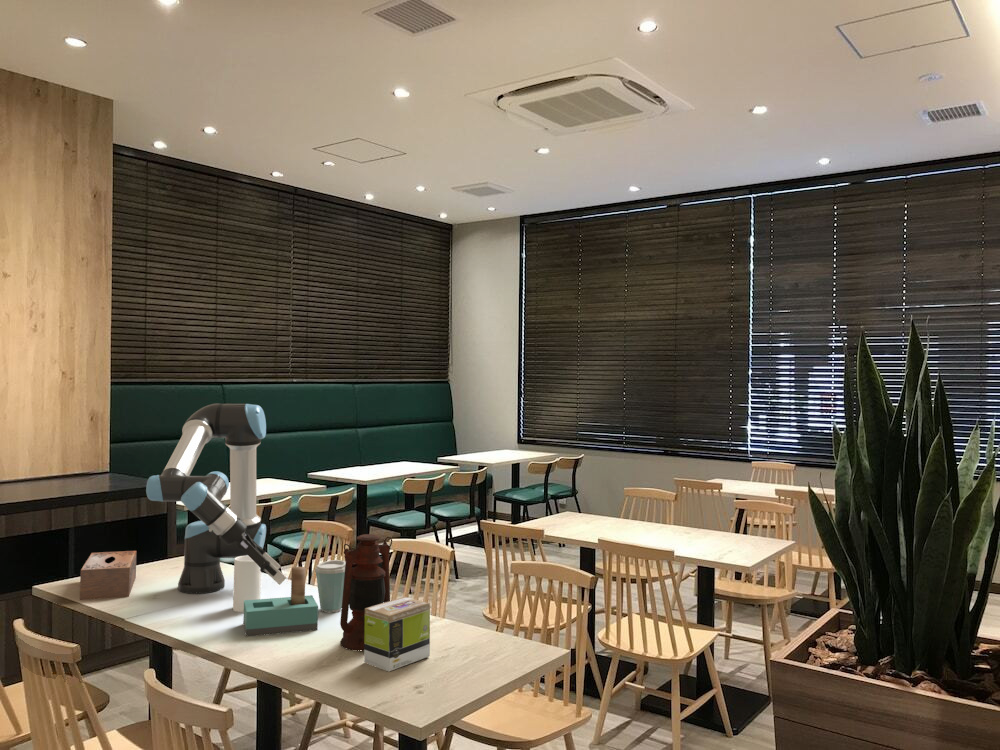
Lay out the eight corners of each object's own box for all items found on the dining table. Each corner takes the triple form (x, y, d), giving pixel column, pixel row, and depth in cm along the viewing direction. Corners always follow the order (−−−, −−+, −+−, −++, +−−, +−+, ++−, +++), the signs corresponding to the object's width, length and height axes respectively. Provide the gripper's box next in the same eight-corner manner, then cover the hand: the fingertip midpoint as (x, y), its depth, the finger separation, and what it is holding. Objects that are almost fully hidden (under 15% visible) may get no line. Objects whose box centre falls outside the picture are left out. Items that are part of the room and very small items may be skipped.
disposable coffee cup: (328, 616, 243) (330, 568, 243) (306, 610, 249) (307, 562, 249) (354, 609, 251) (355, 562, 251) (332, 603, 258) (333, 557, 258)
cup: (264, 605, 253) (265, 555, 253) (253, 612, 245) (255, 561, 245) (239, 604, 254) (241, 554, 254) (228, 611, 246) (229, 560, 246)
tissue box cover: (91, 581, 278) (91, 552, 278) (135, 578, 283) (136, 550, 283) (79, 600, 254) (80, 570, 254) (128, 597, 259) (129, 567, 259)
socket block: (243, 623, 234) (243, 600, 234) (311, 618, 241) (312, 595, 241) (246, 636, 223) (246, 611, 223) (317, 630, 230) (318, 606, 230)
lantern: (355, 656, 209) (358, 544, 209) (325, 643, 219) (328, 536, 219) (405, 641, 222) (408, 535, 222) (374, 630, 231) (377, 528, 232)
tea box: (404, 648, 216) (405, 595, 216) (430, 657, 210) (431, 602, 210) (362, 663, 205) (363, 606, 205) (388, 673, 198) (390, 614, 198)
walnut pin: (289, 617, 235) (291, 567, 235) (303, 616, 236) (304, 566, 237) (291, 621, 231) (292, 570, 231) (305, 620, 233) (306, 569, 233)
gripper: (216, 527, 236) (266, 574, 242) (220, 545, 213) (275, 596, 219) (235, 509, 238) (284, 556, 244) (241, 525, 215) (295, 576, 221)
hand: (280, 575), depth 231 cm, fingers open, 13 cm apart
